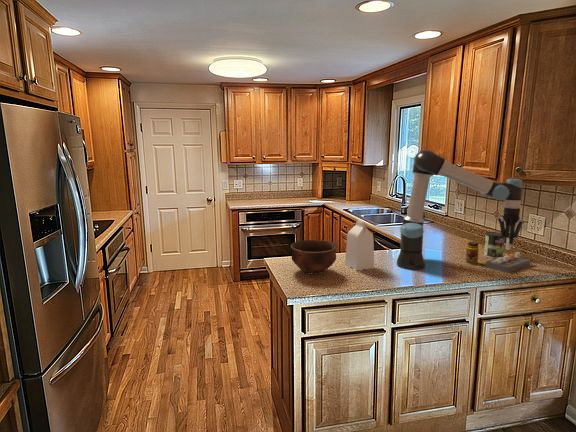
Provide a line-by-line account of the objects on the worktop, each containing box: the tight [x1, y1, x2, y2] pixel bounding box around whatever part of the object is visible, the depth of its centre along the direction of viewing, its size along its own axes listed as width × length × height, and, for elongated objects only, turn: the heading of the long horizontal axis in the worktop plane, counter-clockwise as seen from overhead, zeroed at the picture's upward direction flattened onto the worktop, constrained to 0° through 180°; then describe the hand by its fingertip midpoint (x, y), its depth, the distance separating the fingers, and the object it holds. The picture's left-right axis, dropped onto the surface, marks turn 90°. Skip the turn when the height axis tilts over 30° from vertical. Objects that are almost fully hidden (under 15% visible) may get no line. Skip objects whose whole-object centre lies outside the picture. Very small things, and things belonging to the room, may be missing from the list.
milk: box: [344, 219, 375, 271], centre depth 208 cm, size 12×12×26 cm
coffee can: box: [483, 231, 505, 259], centre depth 226 cm, size 10×10×14 cm
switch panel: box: [484, 254, 532, 274], centre depth 208 cm, size 24×12×3 cm, turn 122°
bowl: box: [290, 239, 338, 275], centre depth 201 cm, size 25×25×15 cm
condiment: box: [461, 241, 481, 266], centre depth 214 cm, size 7×8×12 cm
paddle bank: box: [497, 251, 521, 264], centre depth 208 cm, size 21×1×3 cm, turn 122°
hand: (508, 249), depth 208 cm, fingers closed
